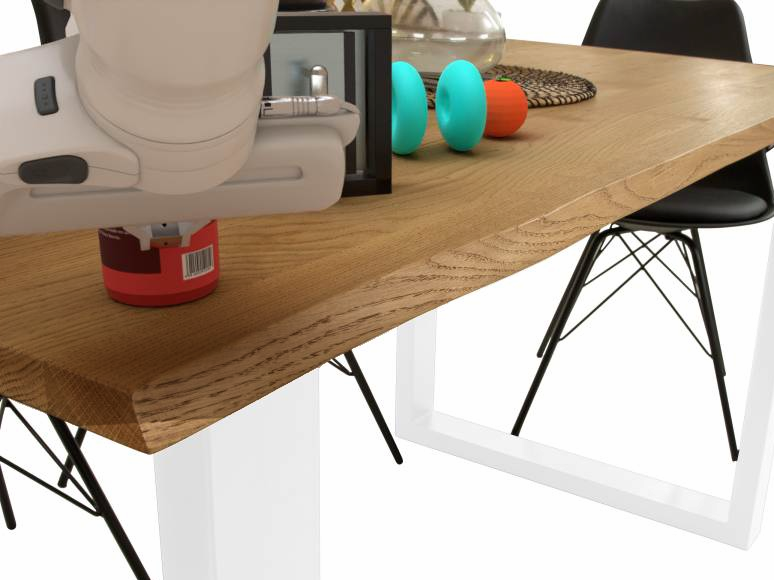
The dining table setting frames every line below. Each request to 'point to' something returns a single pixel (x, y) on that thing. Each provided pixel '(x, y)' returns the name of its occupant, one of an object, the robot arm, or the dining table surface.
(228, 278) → the dining table surface
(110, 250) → the canned food
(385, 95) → the window frame
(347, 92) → the window pane
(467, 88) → the donuts
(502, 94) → the clementine
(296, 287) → the dining table surface
